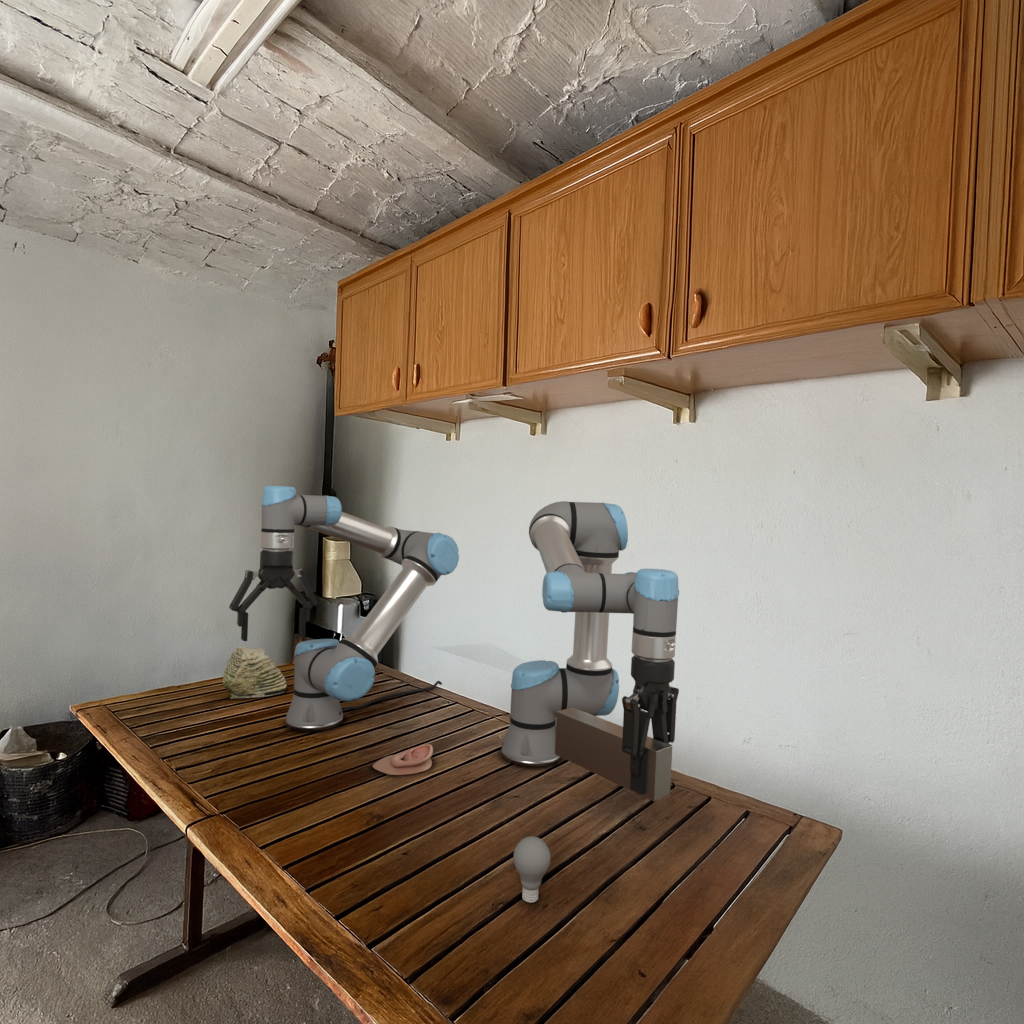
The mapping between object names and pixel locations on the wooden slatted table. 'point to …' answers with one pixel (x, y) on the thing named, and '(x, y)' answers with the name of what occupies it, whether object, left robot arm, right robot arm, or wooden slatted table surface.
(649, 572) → the right robot arm
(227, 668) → the fossil
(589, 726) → the bar
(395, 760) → the anatomical model
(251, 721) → the wooden slatted table surface
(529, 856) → the light bulb
